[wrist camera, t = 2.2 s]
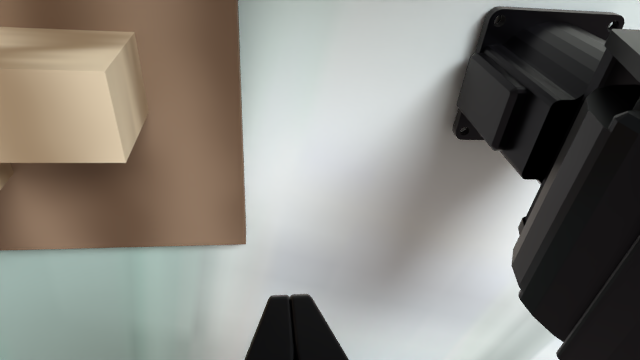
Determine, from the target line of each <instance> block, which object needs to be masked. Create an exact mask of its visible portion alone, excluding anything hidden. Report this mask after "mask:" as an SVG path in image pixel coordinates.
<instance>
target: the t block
mask: <svg viewBox="0 0 640 360" xmlns="http://www.w3.org/2000/svg"><path fill="white" fill-rule="evenodd" d="M148 113H149V111H148V105H147V99H146V94H145V88H144V83H143V77H142V71H141V66H140V60H139V54H138V49H137V43H136V38H135V32H116V31H91V30H66V29H41V28H16V27H0V190H1V189H2V187H3V186H4V185H5V184H6V182H7V181H8V180H9V179H10V177H11V176H12V175H13V174H14V171H13V169H12V167H11V164H10V163H126V162H127V159H128V157H129V155H130V153H131V151H132V148H133V146H134V144H135V142H136V140H137V137H138V135H139V133H140V131H141V128H142V126H143V124H144V122H145V120H146V117H147V115H148Z"/></svg>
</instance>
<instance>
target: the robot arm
mask: <svg viewBox="0 0 640 360" xmlns="http://www.w3.org/2000/svg"><path fill="white" fill-rule="evenodd" d="M499 15H502V16H501V20H500V22H498V23H497V24H494V20H495V19H496V17H497V16H499ZM611 22H613V24H612V25H611V27H610V28H608V25H609V24H610V23H611ZM623 25H624V18H623V17H622V16H620V15H618V14H615V13H611V12H593V11H574V10H556V9H537V8H518V7H500V6H499V7H495V8H493V9H491V10H490V11H489V12H488V13H487V15H486V17H485V20H484V24H483V27H482V31H481V34H480V37H479V41H478V44H477V48H476V51H475V54H474V55H473V56H472V57H471V58H470V60H469V64H468V67H467V71H466V74H465V78H464V81H463V85H462V88H461V91H460V95H459V98H458V102H457V106H458V108H459V109H458V112H457V115H456V119H455V122H454V125H453V132H454V134H455V135H456V137H457V138H458V139H462V140H485V141H486V142H487V143H488V144H489V146H490V147H491V148H492V149H493V150H494V151H500V152H501V153H502V154H503V155H504V157H505V158H506V159H507V160H508V161H509V163H510V164H511V165H512V166H513V167H514V169H515V170H516V171H517V172H518V173H519V174H520V176H521V177H522V178H523V179H536V180H537V181H538V182H539V183H540V184H541V186H540V188H539V190H538V193H537V195H536V197H535V199H534V201H533V203H532V205H531V207H530V209H529V211H528V214H527V216H526V217H523V218H522V220H521V222H520V225H519V227H518V229H519V234H520V236H519V238H518V240H517V242H516V244H515V247H514V249H513V257H512V268H513V271H514V274H515V277H516V279H517V282H518V285H519V287H520V289H521V290H520V292H519V298H520V300H521V301H522V303H523V304H524V305H525V307H526V308H527V309H528V311H529V312H530V313H531V314H532V316H533V317H534V318H535V319H537V320H538V321H539V322H540V323H541V324H542V325H543V326H544V327H545V328H546V329H547V330H548V331H550V332H551V333H552V334H553V335H554V336H556V337H557V338H558V339H560V340H561V341H563V342H564V343H563V344H562V345H561V347H560V348H559V350H558V351H557V353H556V354H557V357H558V359H560V360H640V30H630V29H622V28H623ZM607 28H608V29H607ZM464 127H467V128H466V130H464V131H462V132H460V131H461V129H462V128H464ZM245 360H349V359H348V358H347V356H346V354H345V353H344V351H343V349H342V347H341V346H340V344H339V342H338V341H337V339H336V337H335V336H334V334H333V332H332V331H331V329H330V327H329V326H328V324H327V322H326V321H325V319H324V317H323V316H322V314H321V312H320V310H319V309H318V307H317V305H316V304H315V302H314V300H313V299H312V297H311V296H310V295H308V294H294V295H291V296H290V297H289V296H288V295H273V296H271V297H270V298H269V299H268V302H267V304H266V307H265V309H264V312H263V314H262V317H261V319H260V322H259V324H258V327H257V329H256V332H255V334H254V337H253V340H252V342H251V345H250V347H249V350H248V352H247V355H246V357H245Z"/></svg>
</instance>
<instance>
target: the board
mask: <svg viewBox="0 0 640 360" xmlns="http://www.w3.org/2000/svg"><path fill="white" fill-rule="evenodd" d="M0 27H16V28H41V29H66V30H91V31H116V32H135V38H136V43H137V49H138V54H139V60H140V66H141V71H142V77H143V83H144V88H145V94H146V99H147V105H148V111H149V113H148V115H147V117H146V120H145V122H144V124H143V126H142V128H141V131H140V133H139V135H138V137H137V140H136V142H135V144H134V146H133V148H132V151H131V153H130V155H129V157H128V159H127V162H126V163H10V164H11V167H12V169H13V171H14V174H13V175H12V176H11V177H10V179H9V180H8V181H7V182H6V184H5V185H4V186H3V187H2V189H1V190H0V250H34V249H74V248H113V247H153V246H193V245H232V244H246V215H245V186H244V158H243V130H242V102H241V74H240V45H239V17H238V0H0Z"/></svg>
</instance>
